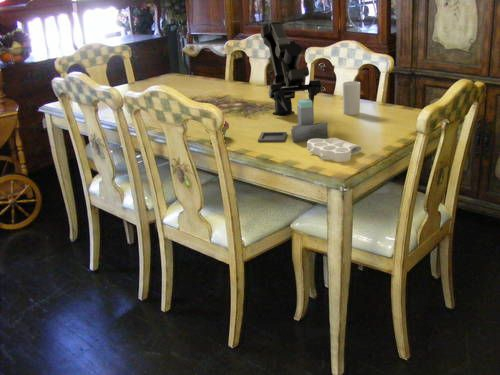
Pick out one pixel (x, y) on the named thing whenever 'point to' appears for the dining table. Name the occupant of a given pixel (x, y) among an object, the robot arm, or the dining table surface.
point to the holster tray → (272, 137)
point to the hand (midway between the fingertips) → (299, 109)
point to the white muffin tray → (333, 149)
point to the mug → (351, 98)
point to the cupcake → (224, 127)
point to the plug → (305, 112)
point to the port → (309, 132)
